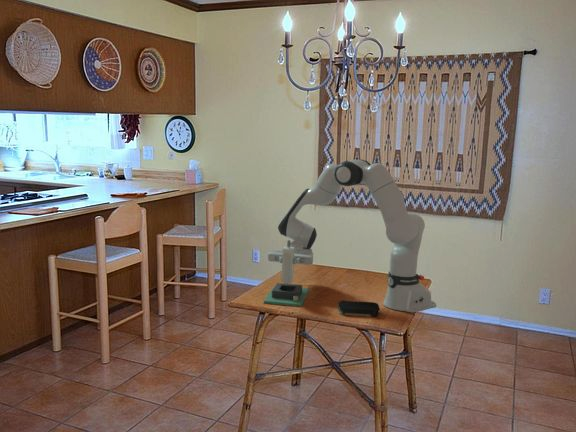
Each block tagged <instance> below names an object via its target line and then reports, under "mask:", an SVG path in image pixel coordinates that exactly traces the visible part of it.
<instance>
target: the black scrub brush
mask: <svg viewBox="0 0 576 432" xmlns="http://www.w3.org/2000/svg"><path fill="white" fill-rule="evenodd" d="M337 307H338V312H339V315H341V316H357V317H371V318H375V317H378V316H379V313H380V310H381V307H380V306H379V304H378V303H377V302H373V301H352V300H349V301H348V300H340V301H339V302H338V303H337Z"/></svg>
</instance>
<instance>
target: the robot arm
mask: <svg viewBox="0 0 576 432" xmlns="http://www.w3.org/2000/svg"><path fill="white" fill-rule="evenodd" d="M362 184H363V185H365V186H366V187H367V188H368V190H369V192H370V194H371V195H372V198H373V199H374V201H375V203H376V205H377V207H378V209H379V210H380V213H381V216H382V219H383V223H384V226H385V235H386V238H387V239H388V240H389V241H390V242H391V243H392V244H393V248H392V251H391V252H390V257H389V258H390V259H389V271H388V275H387V290H386V293H385V298H384V301H383V306H385V307H386V308H388V309H391V310H395V311H402V312H408V313H413V314H414V313H417V312H423V311H425V310H431V309H434V308H437V303H436V302H435V301H434V300H432V294H431V291H430V290H429V289H428V288H427V287H425V285H423V284H422V283H421V282H420V281H424V280H425V276H424V275H422V274H418V273H417V269H418V267H417V266H418V259H419V257H418V256H419V251H420V248H421V243H422V239H423V233H424V230H425V227H426V226H425V220H424V219H423V217H421V215H419V214H417V213H411V212H410V213H408V210H407V207H406V203H405V196H404V195H403V193H402V191H401V190H400V188H399V187H398V184H397V182H396V180H395V179H394V177H393V175H392V174H391V173H390V172H389V170H388V169H387V168H386V167H385V166H384V165H383V163H379V162H374V163H372V164H371V163H370V162H369V161H368V160H365V159H350V160H346V161H343V162H340V163H339V164H336V163H329V164H327V165H326V166H325V168H324V169H323V170H322V172H321V174H320V175H319V176H318V178H317V180H316V182H315V183H314V185H313V186H312V187H310V188H306V189H304V191H303V192H302V193H301V194H300V195H299V196H298V198H297V199H296V200H295V202H294V203H293V204H292V206H291V207H290V208H289V210H288V212H287V213H286V214H285V215H284V216H283V217H282V218H281V220H280V221H279V223H278V224H277V225H278V226H277V229H278V232H279V234H280V235H282V236H284V237H286V238H288V239H291V240H292V241H291V243H290V247H295V250H294V259H293V264H294V265H298V264H299V265H300V264H301V265H313V263H314V253H313V249H312V247H313V245H314V243H315V241H316V239H317V236H318V235H317V229H316V228H315V227H313V226H312V225H310V224H309V223H307V222H304V221H302V220H300V219H298V218H297V217H296V216H297V214H298V213H299V212H300V210H301V209H302V208H303V207H304V206H305V205H306V206H307V205H315V206H327V205H330V204H332V203H333V202H334V201H335V200H336V198H337V197H338V195H339V193H340V191H341V188H342V187H352V186H359V185H362ZM282 255H283V250H277V249H274V250H271V251H269V252H268V253H267V260H268V261H269V262H274V263H276V262H277V263H279V264H282Z"/></svg>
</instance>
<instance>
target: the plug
mask: <svg viewBox="0 0 576 432" xmlns="http://www.w3.org/2000/svg"><path fill="white" fill-rule="evenodd" d="M291 242H292V241H291V240H289V239H288V240H287V241H286V243H287V244H286V246H284V247H283V248H282V251H283V255H282V263H281V283H283V284H292V283H293V281H294V275H295V274H294V272H295V271H294V270H295V269H294V268H295V264H293V259H294V250H295V247H290V243H291Z"/></svg>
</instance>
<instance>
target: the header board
mask: <svg viewBox="0 0 576 432" xmlns="http://www.w3.org/2000/svg"><path fill="white" fill-rule="evenodd" d="M309 291H310V288H306V287H303V285H302V284H294V283H293V284H292V283H288V284H286V283H283V282H281V283H280V282H278V283H276V284H275V285H274V286H273V287H272V289H271V290H270V292H269V293H268V294H267V296H266V297H265V299H263V304H267V305H268V304H269V305H278V306H279V305H280V306H288V307H290V306H291V307H302V306H303V303H304V302H305V299H307V298H306V297H307V296H308V293H309Z"/></svg>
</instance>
